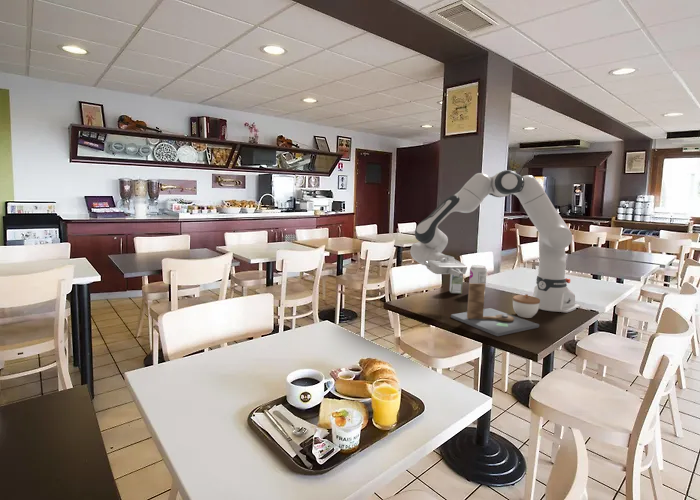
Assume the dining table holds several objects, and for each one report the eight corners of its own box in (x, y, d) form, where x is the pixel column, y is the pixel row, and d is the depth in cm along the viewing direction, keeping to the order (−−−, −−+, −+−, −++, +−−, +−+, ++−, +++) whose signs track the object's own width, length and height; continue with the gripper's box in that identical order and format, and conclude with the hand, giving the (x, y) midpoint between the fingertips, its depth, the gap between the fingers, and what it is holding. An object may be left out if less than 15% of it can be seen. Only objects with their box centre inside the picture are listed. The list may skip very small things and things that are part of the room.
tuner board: (490, 310, 183) (490, 304, 182) (538, 327, 161) (539, 320, 160) (450, 317, 172) (451, 310, 171) (497, 336, 150) (497, 328, 150)
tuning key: (510, 316, 169) (512, 282, 167) (516, 321, 162) (519, 286, 160) (465, 315, 169) (467, 281, 167) (469, 320, 163) (471, 285, 160)
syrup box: (460, 291, 217) (461, 264, 215) (462, 294, 212) (463, 266, 209) (449, 290, 218) (450, 264, 216) (450, 293, 212) (452, 266, 210)
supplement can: (468, 296, 207) (470, 267, 205) (468, 292, 215) (470, 264, 213) (485, 297, 205) (487, 268, 202) (484, 293, 212) (486, 265, 210)
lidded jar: (543, 316, 175) (544, 295, 174) (531, 321, 168) (533, 299, 167) (518, 310, 183) (520, 290, 182) (506, 315, 176) (508, 294, 175)
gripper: (423, 255, 177) (446, 268, 166) (454, 256, 189) (477, 268, 178) (419, 268, 179) (442, 282, 168) (450, 269, 191) (473, 281, 180)
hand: (460, 275), depth 173 cm, fingers closed
